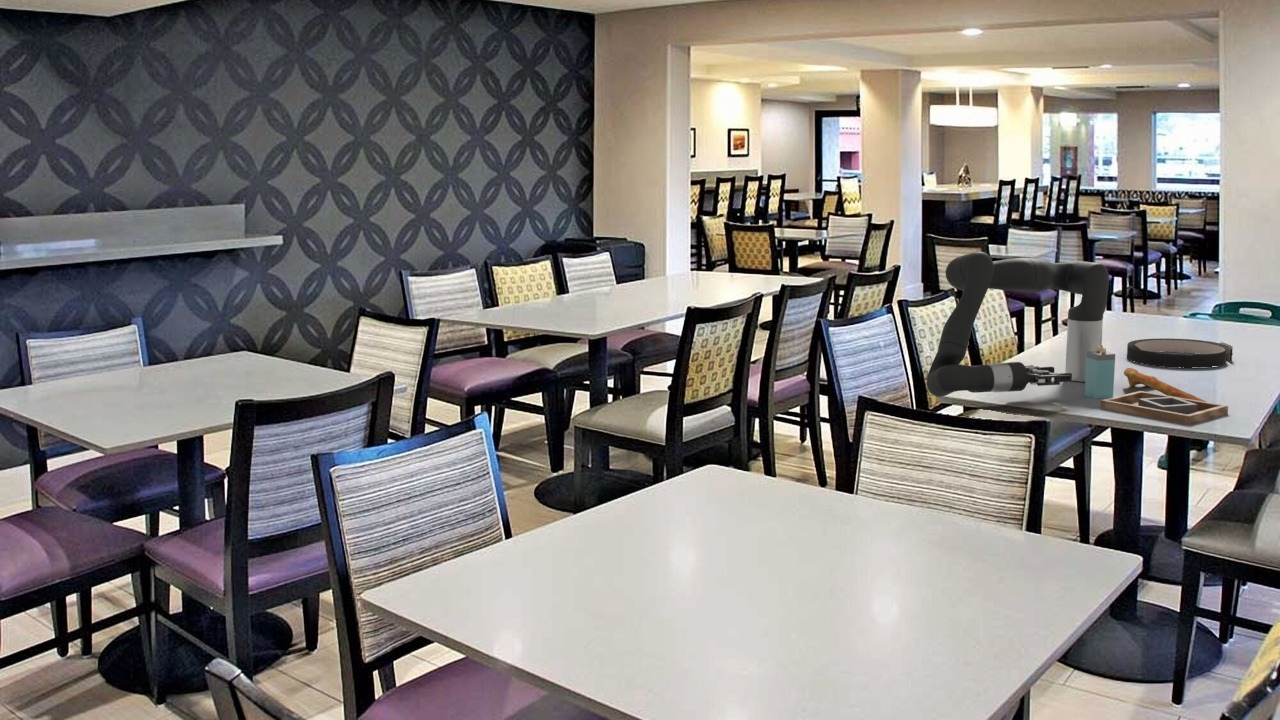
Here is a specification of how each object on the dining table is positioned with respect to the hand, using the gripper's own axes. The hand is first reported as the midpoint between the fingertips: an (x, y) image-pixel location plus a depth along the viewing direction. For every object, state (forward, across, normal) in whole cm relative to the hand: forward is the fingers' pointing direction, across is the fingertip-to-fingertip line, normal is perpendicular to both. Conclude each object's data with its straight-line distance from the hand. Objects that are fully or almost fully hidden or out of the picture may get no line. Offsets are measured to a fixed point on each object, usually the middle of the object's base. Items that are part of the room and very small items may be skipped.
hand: (1062, 373), depth 297 cm
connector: (+11, 0, +7) cm, 13 cm away
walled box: (+16, -20, +7) cm, 26 cm away
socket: (+16, -20, +6) cm, 27 cm away
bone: (+26, -4, +8) cm, 27 cm away
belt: (+64, +42, +8) cm, 77 cm away
